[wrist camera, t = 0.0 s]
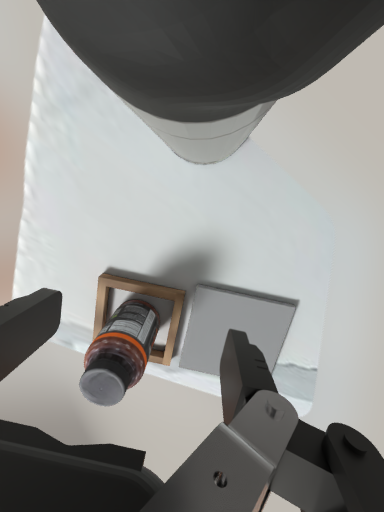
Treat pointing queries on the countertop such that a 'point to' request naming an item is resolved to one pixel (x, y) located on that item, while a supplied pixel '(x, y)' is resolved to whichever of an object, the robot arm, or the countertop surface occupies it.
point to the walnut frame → (142, 288)
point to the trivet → (232, 327)
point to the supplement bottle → (119, 353)
